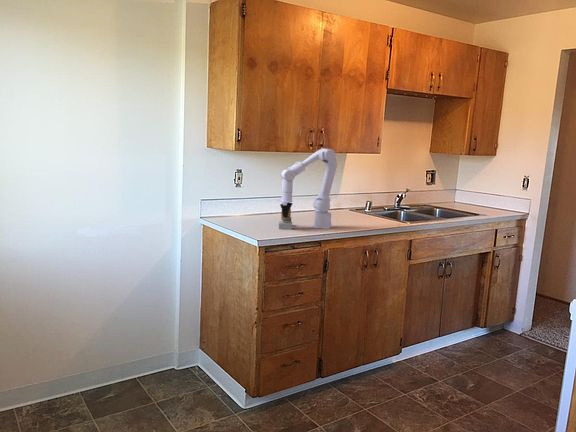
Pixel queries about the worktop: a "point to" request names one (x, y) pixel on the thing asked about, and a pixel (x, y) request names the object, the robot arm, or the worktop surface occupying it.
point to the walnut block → (287, 217)
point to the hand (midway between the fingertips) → (285, 216)
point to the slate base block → (285, 225)
